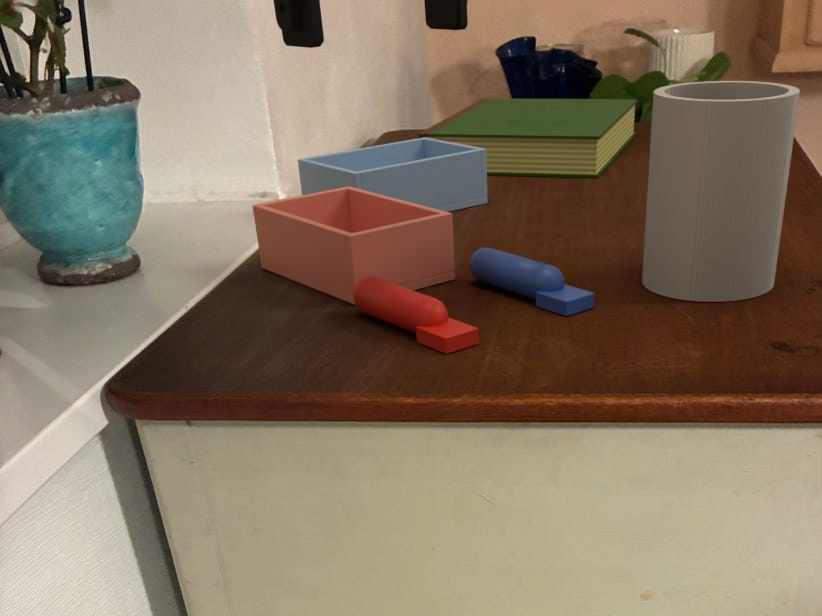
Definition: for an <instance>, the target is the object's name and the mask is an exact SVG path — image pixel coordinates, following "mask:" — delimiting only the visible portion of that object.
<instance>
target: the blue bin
mask: <svg viewBox="0 0 822 616" xmlns="http://www.w3.org/2000/svg"><path fill="white" fill-rule="evenodd" d="M297 165H298V174H299V182H300V190H301V196H302V195H307V194H312V193H317V192H322V191H327V190H333V189H338V188H343V187H348V186H350V187H354V188H358V189H361V190H365V191H369V192H373V193H377V194H380V195H384V196H388V197H392V198H396V199H400V200H403V201H407V202H411V203H415V204H419V205H422V206H426V207H430V208H434V209H438V210H442V211H445V212H449V213H450V212H453V211H459V210H462V209H466V208H467V209H468V208H471V207H475V206H480V205H485V204H488V175H487V163H486V149H484V148H479V147H474V146H468V145H463V144H458V143H452V142H447V141H442V140H437V139H431V138H426V137H424V138H418V137H417V138H413V139H406V140H402V141H401V140H400V141H395V142H390V143H383V144H378V145H372V146H366V147H359V148H355V149H350V150H344V151H338V152H332V153H326V154H321V155H315V156H309V157H303V158H298V159H297Z"/></svg>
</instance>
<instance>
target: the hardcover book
mask: <svg viewBox="0 0 822 616" xmlns="http://www.w3.org/2000/svg"><path fill="white" fill-rule="evenodd" d="M637 103H638V98H637V99H636V98H635V99H631V98H630V99H629V98H628V99H627V98H626V99H625V98H620V99H619V98H607V99H606V98H481V99H479V100H478V101H475V102H474V103H472V104H470V105H468V106H467V107H465V108H462V109H460V110H459V111H457V112H456V113H455V112H454V113H453V114H452V115H450V116H448V117H445V118H444V119H442V120H441V121H439V122H437V123H435V124H433V125H431V126H429V127H428V128H426V129H424V130H422V131H421V132H418V134H417V139H418V138H424V137H426V138H431V139H437V140H442V141H447V142H452V143H458V144H463V145H468V146H474V147H479V148H484V149H486V163H487V176H506V177H507V176H509V177H510V176H511V177H547V178H549V177H550V178H585V179H588V178H589V179H591V178H592V179H598V178H599V177H600V176H601V175H602V174H603V173H604V172H605V171H606V169H607V168H608V167H609V166H610V165H611V164H612V163H613V162H614V161H615V159H616V158H617V157H619V155H620V153H622V151H623V150H624V149H625V148H626V147H627V146H628V144H629V143H630V142H631V141H632V140H633V139H634V138H635V137H636V135H637V132H635V131H634V129H635V114H636V113H635V111H636V110H635V109H636V104H637Z"/></svg>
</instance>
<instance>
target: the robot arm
mask: <svg viewBox="0 0 822 616" xmlns="http://www.w3.org/2000/svg"><path fill="white" fill-rule="evenodd" d="M423 1H424V3H423V4H424V15H425V16H424V17H425V25H426V26H427V27H428V28H429V29H431V30H443V31H445V30H446V31H462V30H466V29H467V28H468V19H469V18H468V0H423ZM273 7H274V13H275V20H276V24H277V26H278V28H279V29H280V30H281V37H282V40H283V43H284V45H285V46H287V47H295V48H296V47H298V48H307V49H312V48H319V47H322V44H323V43H324V41H325V36H324V26H323V18H322V17H323V16H322V9H321V1H320V0H273Z"/></svg>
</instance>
